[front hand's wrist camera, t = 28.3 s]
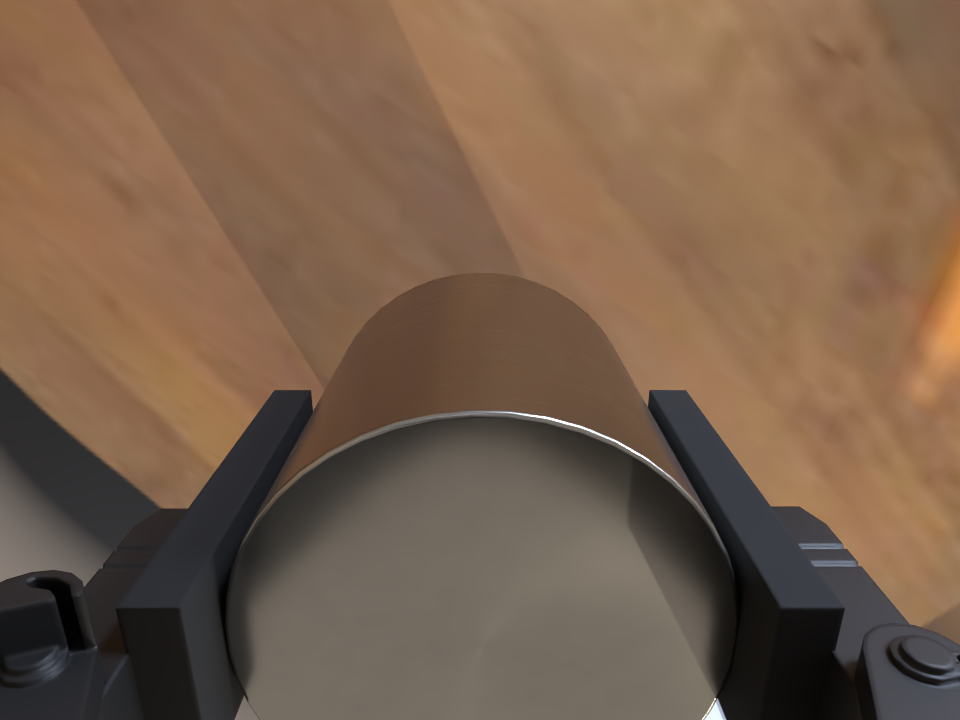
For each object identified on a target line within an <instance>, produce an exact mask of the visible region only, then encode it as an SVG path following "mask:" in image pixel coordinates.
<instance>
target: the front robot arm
mask: <svg viewBox="0 0 960 720" xmlns="http://www.w3.org/2000/svg"><path fill="white" fill-rule="evenodd" d="M648 409H649V410H650V412H651V414H652V416H653V417H654V419H655V421H656V423H657V425H658V426H659V428H660V430H661V432H662V433H663V435H664V437H665V439H666V441H667V442H668V444H669V446H670V448H671V449H672V451H673V453H674V455H675V456H676V458H677V460H678V462H679V464H680V465H681V467H682V469H683V471H684V472H685V474H686V476H687V478H688V480H689V481H690V483H691V485H692V487H693V488H694V490H695V492H696V494H697V496H698V497H699V499H700V501H701V503H702V504H703V506H704V508H705V510H706V512H707V513H708V515H709V517H710V519H711V520H712V522H713V524H714V526H715V528H716V530H717V532H718V534H719V536H720V538H721V540H722V542H723V544H724V546H725V548H726V550H727V552H728V555H729V559H730V562H731V565H732V568H733V572H734V575H735V578H736V585H737V593H738V600H739V626H738V635H737V641H736V647H735V653H734V659H733V664H732V666H731V669H730V672H729V674H728V677H727V680H726V683H725V685H724V688H723V690H722V691H721V693H720V695H719V697H718V701H719V703H720V706H721V708H722V711H723V713H724V716H725V718H726V720H960V645H959V644H957V643H955V642H954V641H952V640H950V639H948V638H946V637H944V636H942V635H941V634H939V633H936V632H933V631H930V630H927V629H924V628H921V627H918V626H915V625H910V624H909V623H908V622H907V621H906V619H905V618H904V617H903V616H902V615H901V613H900V612H899V611H898V610H897V609H896V607H895V606H894V605H893V604H892V603H891V601H890V600H889V599H888V598H887V597H886V595H885V594H884V593H883V592H882V591H881V589H880V588H879V587H878V586H877V585H876V583H875V582H874V581H873V580H872V579H871V577H870V576H869V575H868V574H867V573H866V571H865V570H864V569H863V568H862V567H859V566H858V562H857V561H856V559H855V558H854V557H853V556H852V555H851V553H850V552H849V551H848V550H847V549H844V547H843V544H842V543H841V541H840V540H839V539H838V538H837V537H836V535H835V534H834V533H833V532H832V531H831V529H830V528H829V527H828V526H827V525H826V524H825V523H824V522H822V521H821V520H819V519H817V518H816V517H814V516H813V515H811V514H810V513H808V512H807V511H805V510H804V509H802V508H801V507H771V506H770V505H769V503H768V502H767V501H766V499H765V498H764V497H763V495H762V494H761V492H760V491H759V490H758V488H757V487H756V486H755V484H754V483H753V482H752V480H751V479H750V477H749V476H748V475H747V473H746V472H745V471H744V469H743V468H742V466H741V465H740V464H739V462H738V461H737V460H736V458H735V457H734V456H733V454H732V453H731V451H730V450H729V449H728V447H727V446H726V445H725V443H724V442H723V440H722V439H721V438H720V436H719V435H718V434H717V432H716V431H715V430H714V428H713V427H712V425H711V424H710V423H709V421H708V420H707V419H706V417H705V416H704V415H703V413H702V412H701V410H700V409H699V408H698V406H697V405H696V404H695V402H694V401H693V399H692V398H691V397H690V395H689V394H688V393H687V391H686V390H650V391H649V402H648ZM312 413H313V408H312V397H311V390H275V391H274V392H273V393H272V395H271V396H270V397H269V399H268V400H267V401H266V403H265V404H264V406H263V407H262V408H261V410H260V411H259V412H258V414H257V415H256V417H255V418H254V419H253V421H252V422H251V423H250V425H249V426H248V427H247V429H246V430H245V432H244V433H243V434H242V436H241V437H240V438H239V440H238V441H237V442H236V444H235V445H234V447H233V448H232V449H231V451H230V452H229V453H228V455H227V456H226V458H225V459H224V460H223V462H222V463H221V464H220V466H219V467H218V468H217V470H216V471H215V473H214V474H213V475H212V477H211V478H210V479H209V481H208V482H207V484H206V485H205V486H204V488H203V489H202V490H201V492H200V493H199V494H198V496H197V497H196V499H195V500H194V501H193V503H192V504H191V505H190V507H189V508H188V509H160V510H159V511H157V512H156V513H154V514H153V515H151V516H150V517H148V518H147V519H145V520H144V521H142V522H141V523H139V524H138V525H136V526H135V527H134V528H133V529H132V530H131V531H130V533H129V534H128V535H127V536H126V537H125V539H124V540H123V541H122V542H121V544H120V545H119V546H118V549H117V551H114V552H113V553H112V554H111V556H110V557H109V558H108V559H107V560H106V562H105V563H104V564H103V569H99V570H98V571H97V573H96V574H95V575H94V576H93V577H92V579H91V580H90V581H89V582H88V583H87V585H86V586H85V587H84V586H83V582H82V581H81V580H80V579H79V578H78V577H76V576H75V575H74V574H72V573H69V572H63V571H57V570H49V571H39V572H31V573H27V574H24V575H20V576H17V577H13V578H10V579H7V580H4V581H2V582H0V720H234V719H235V717H236V714H237V712H238V709H239V707H240V704H241V702H242V699H243V697H244V693H243V691H242V689H241V687H240V685H239V682H238V680H237V678H236V675H235V672H234V668H233V665H232V662H231V658H230V655H229V651H228V643H227V636H226V628H225V604H226V592H227V587H228V582H229V577H230V572H231V568H232V565H233V562H234V560H235V557H236V555H237V552H238V549H239V547H240V544H241V541H242V540H243V538H244V536H245V534H246V532H247V531H248V529H249V527H250V525H251V523H252V521H253V520H254V518H255V516H256V514H257V512H258V511H259V509H260V507H261V505H262V503H263V502H264V500H265V498H266V496H267V494H268V493H269V491H270V489H271V487H272V485H273V483H274V482H275V480H276V478H277V476H278V474H279V473H280V471H281V469H282V467H283V465H284V464H285V462H286V460H287V458H288V456H289V454H290V453H291V451H292V449H293V447H294V445H295V444H296V442H297V440H298V438H299V436H300V435H301V433H302V431H303V429H304V427H305V426H306V424H307V422H308V420H309V418H310V416H311V415H312Z"/></svg>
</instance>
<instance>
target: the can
mask: <svg viewBox="0 0 960 720" xmlns="http://www.w3.org/2000/svg"><path fill="white" fill-rule="evenodd" d="M738 626H739V600H738V593H737V585H736V578H735V575H734V572H733V568H732V565H731V562H730V559H729V555H728V552H727V550H726V548H725V546H724V544H723V542H722V540H721V538H720V536H719V534H718V532H717V530H716V528H715V526H714V524H713V522H712V520H711V519H710V517H709V515H708V513H707V512H706V510H705V508H704V506H703V504H702V503H701V501H700V499H699V497H698V496H697V494H696V492H695V490H694V488H693V487H692V485H691V483H690V481H689V480H688V478H687V476H686V474H685V472H684V471H683V469H682V467H681V465H680V464H679V462H678V460H677V458H676V456H675V455H674V453H673V451H672V449H671V448H670V446H669V444H668V442H667V441H666V439H665V437H664V435H663V433H662V432H661V430H660V428H659V426H658V425H657V423H656V421H655V419H654V417H653V416H652V414H651V412H650V410H649V409H648V407H647V405H646V403H645V401H644V400H643V398H642V396H641V394H640V393H639V391H638V389H637V387H636V385H635V384H634V382H633V380H632V378H631V377H630V375H629V373H628V371H627V369H626V368H625V366H624V364H623V362H622V361H621V359H620V357H619V355H618V353H617V352H616V350H615V348H614V346H613V345H612V343H611V342H610V340H609V339H608V337H607V336H606V334H605V333H604V331H603V330H602V329H601V327H600V326H599V325H598V324H597V323H596V322H595V321H594V320H593V319H592V318H591V317H590V316H589V314H588V313H586V312H585V311H584V310H583V309H581V308H580V307H579V306H578V305H576V304H575V303H574V302H573V301H571V300H570V299H568V298H566V297H565V296H563V295H561V294H560V293H558V292H557V291H555V290H552V289H550V288H548V287H546V286H543V285H541V284H539V283H537V282H533V281H530V280H526V279H523V278H519V277H516V276H509V275H503V274H496V273H469V274H460V275H452V276H448V277H444V278H440V279H436V280H432V281H430V282H427V283H424V284H422V285H419V286H416V287H414V288H412V289H410V290H408V291H407V292H405V293H403V294H401V295H399V296H397V297H396V298H394V299H393V300H392V301H390V302H389V303H388V304H386V305H385V306H383V307H382V308H381V309H380V310H379V311H378V312H377V313H375V314H374V315H373V316H372V317H371V318H370V319H369V320H368V321H367V322H366V323H365V325H364V326H363V327H362V329H361V330H360V331H359V332H358V334H357V335H356V336H355V338H354V339H353V341H352V343H351V344H350V346H349V348H348V350H347V351H346V353H345V355H344V357H343V359H342V360H341V362H340V364H339V366H338V368H337V369H336V371H335V373H334V375H333V377H332V378H331V380H330V382H329V384H328V386H327V388H326V389H325V391H324V393H323V395H322V397H321V398H320V400H319V402H318V404H317V406H316V407H315V409H314V411H313V413H312V415H311V416H310V418H309V420H308V422H307V424H306V426H305V427H304V429H303V431H302V433H301V435H300V436H299V438H298V440H297V442H296V444H295V445H294V447H293V449H292V451H291V453H290V454H289V456H288V458H287V460H286V462H285V464H284V465H283V467H282V469H281V471H280V473H279V474H278V476H277V478H276V480H275V482H274V483H273V485H272V487H271V489H270V491H269V493H268V494H267V496H266V498H265V500H264V502H263V503H262V505H261V507H260V509H259V511H258V512H257V514H256V516H255V518H254V520H253V521H252V523H251V525H250V527H249V529H248V531H247V532H246V534H245V536H244V538H243V540H242V541H241V544H240V547H239V549H238V552H237V555H236V557H235V560H234V562H233V565H232V568H231V572H230V577H229V582H228V587H227V592H226V604H225V628H226V636H227V643H228V651H229V655H230V658H231V662H232V665H233V668H234V672H235V675H236V678H237V680H238V682H239V685H240V687H241V689H242V691H243V693H244V695H245V697H246V699H247V701H248V703H249V705H250V706H251V708H252V709H253V711H254V712H255V714H256V715H257V717H258V718H259V720H704V719H705V718H706V717H707V715H708V714H709V713H710V711H711V710H712V708H713V706H714V704H715V702H716V701H717V699H718V697H719V695H720V693H721V691H722V690H723V688H724V685H725V683H726V680H727V677H728V674H729V672H730V669H731V666H732V664H733V659H734V653H735V647H736V641H737V635H738Z"/></svg>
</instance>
